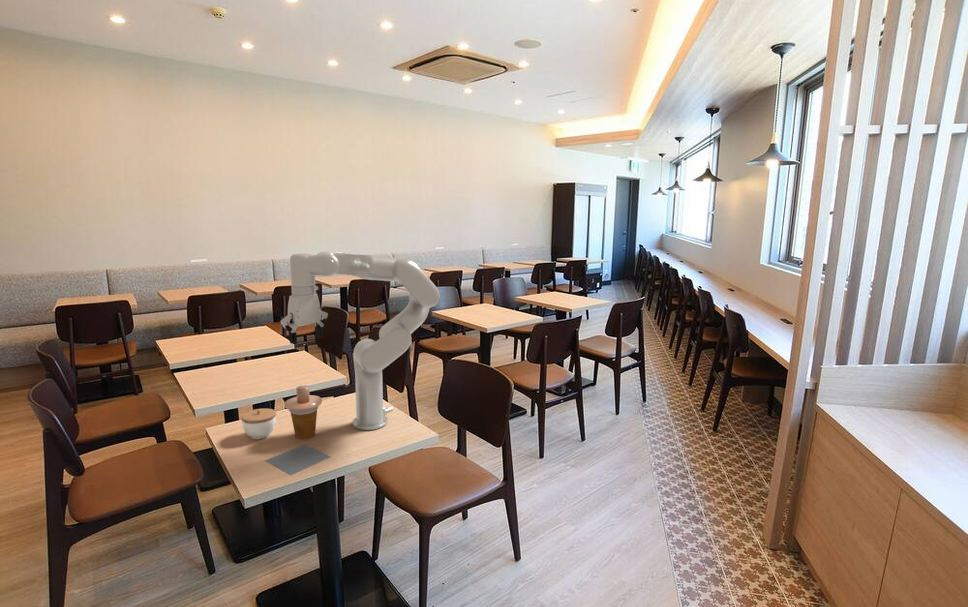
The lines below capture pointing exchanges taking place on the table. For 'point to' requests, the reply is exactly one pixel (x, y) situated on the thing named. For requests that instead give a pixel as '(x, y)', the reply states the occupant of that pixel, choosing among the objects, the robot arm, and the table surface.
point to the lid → (303, 400)
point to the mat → (297, 459)
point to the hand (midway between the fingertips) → (306, 340)
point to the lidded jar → (259, 422)
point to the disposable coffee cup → (304, 422)
